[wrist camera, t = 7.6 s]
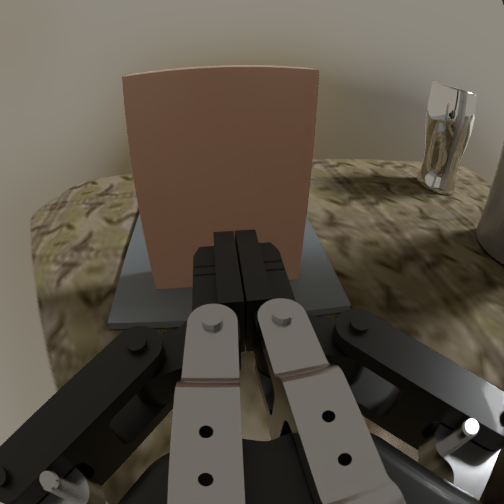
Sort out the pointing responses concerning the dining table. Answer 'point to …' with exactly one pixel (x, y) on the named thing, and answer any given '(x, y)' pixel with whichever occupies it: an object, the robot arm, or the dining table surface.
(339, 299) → the mat
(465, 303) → the dining table surface
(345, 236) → the dining table surface
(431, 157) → the beer glass
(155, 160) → the tile
